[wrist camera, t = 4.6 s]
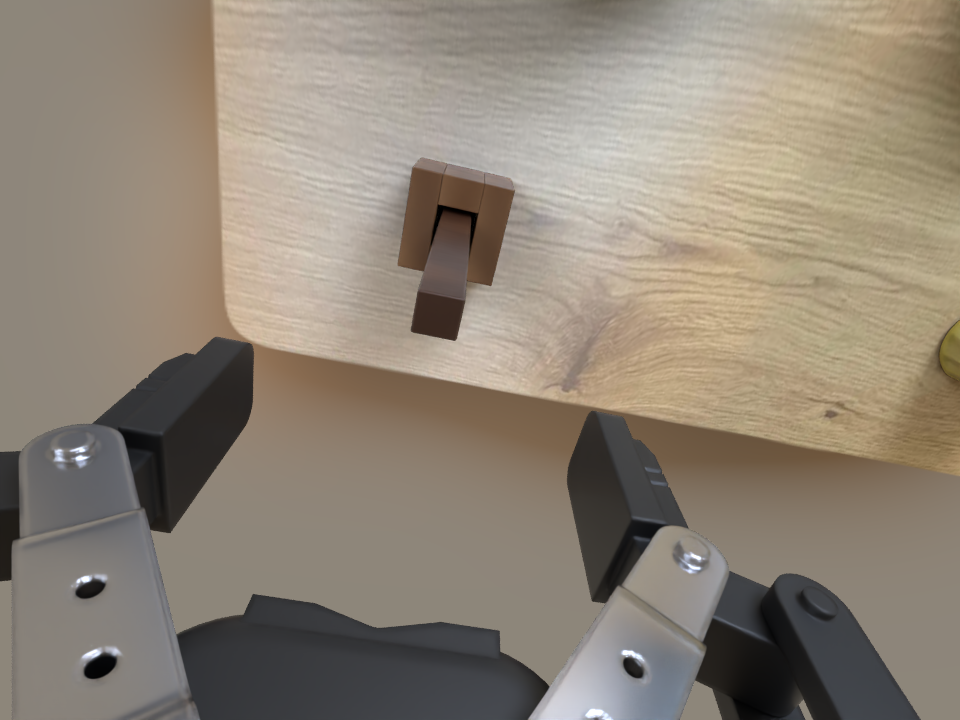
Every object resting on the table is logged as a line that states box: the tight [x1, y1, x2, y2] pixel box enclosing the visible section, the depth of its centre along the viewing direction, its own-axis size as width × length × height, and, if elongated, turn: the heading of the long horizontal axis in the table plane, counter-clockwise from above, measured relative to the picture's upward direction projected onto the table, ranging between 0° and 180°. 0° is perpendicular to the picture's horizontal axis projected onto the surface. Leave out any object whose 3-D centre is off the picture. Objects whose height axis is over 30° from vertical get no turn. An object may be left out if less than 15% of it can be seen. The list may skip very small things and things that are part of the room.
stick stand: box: [398, 158, 515, 286], centre depth 30 cm, size 5×5×4 cm
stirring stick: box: [411, 206, 472, 341], centre depth 24 cm, size 2×2×16 cm
